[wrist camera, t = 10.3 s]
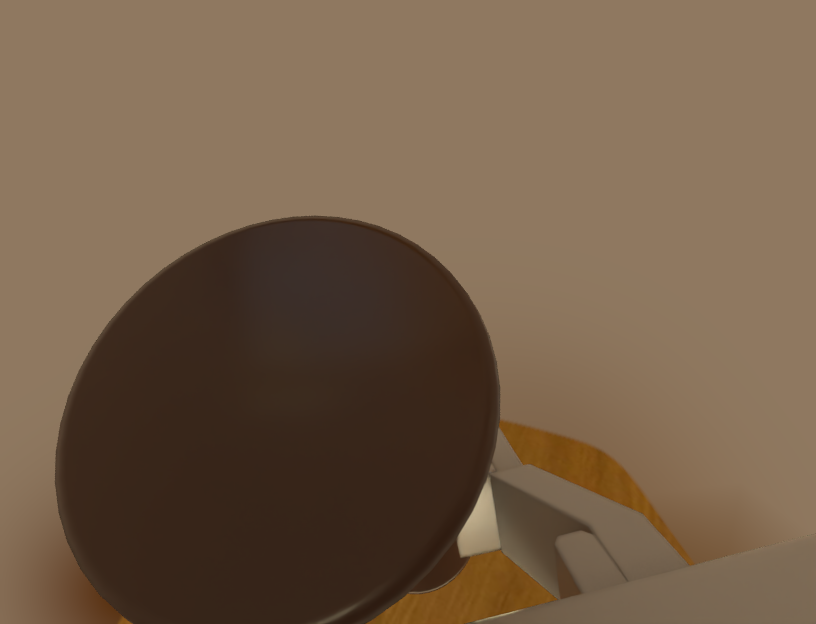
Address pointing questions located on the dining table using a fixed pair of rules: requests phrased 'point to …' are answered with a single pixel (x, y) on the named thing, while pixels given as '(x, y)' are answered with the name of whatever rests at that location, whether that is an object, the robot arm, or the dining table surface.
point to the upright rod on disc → (280, 430)
